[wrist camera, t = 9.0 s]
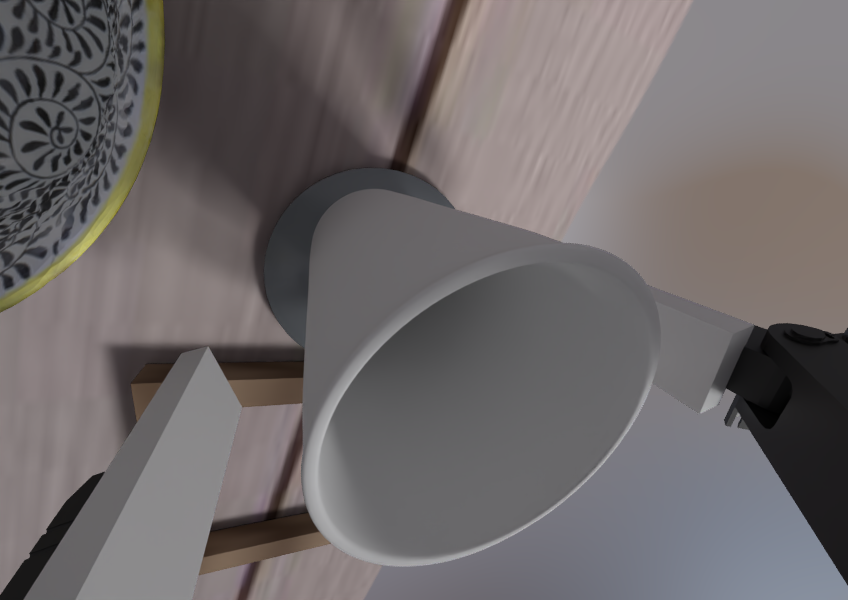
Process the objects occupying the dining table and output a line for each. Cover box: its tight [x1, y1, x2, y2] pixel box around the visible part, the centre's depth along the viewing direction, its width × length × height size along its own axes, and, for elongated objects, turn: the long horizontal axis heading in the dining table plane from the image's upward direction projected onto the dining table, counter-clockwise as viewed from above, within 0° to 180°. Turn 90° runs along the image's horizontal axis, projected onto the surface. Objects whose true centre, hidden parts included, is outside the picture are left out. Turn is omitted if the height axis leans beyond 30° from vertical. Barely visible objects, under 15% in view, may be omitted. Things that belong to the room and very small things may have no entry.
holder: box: [131, 361, 331, 575], centre depth 19 cm, size 12×15×2 cm
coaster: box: [264, 168, 455, 348], centre depth 16 cm, size 11×11×1 cm
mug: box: [301, 189, 661, 566], centre depth 11 cm, size 10×7×12 cm, turn 164°
